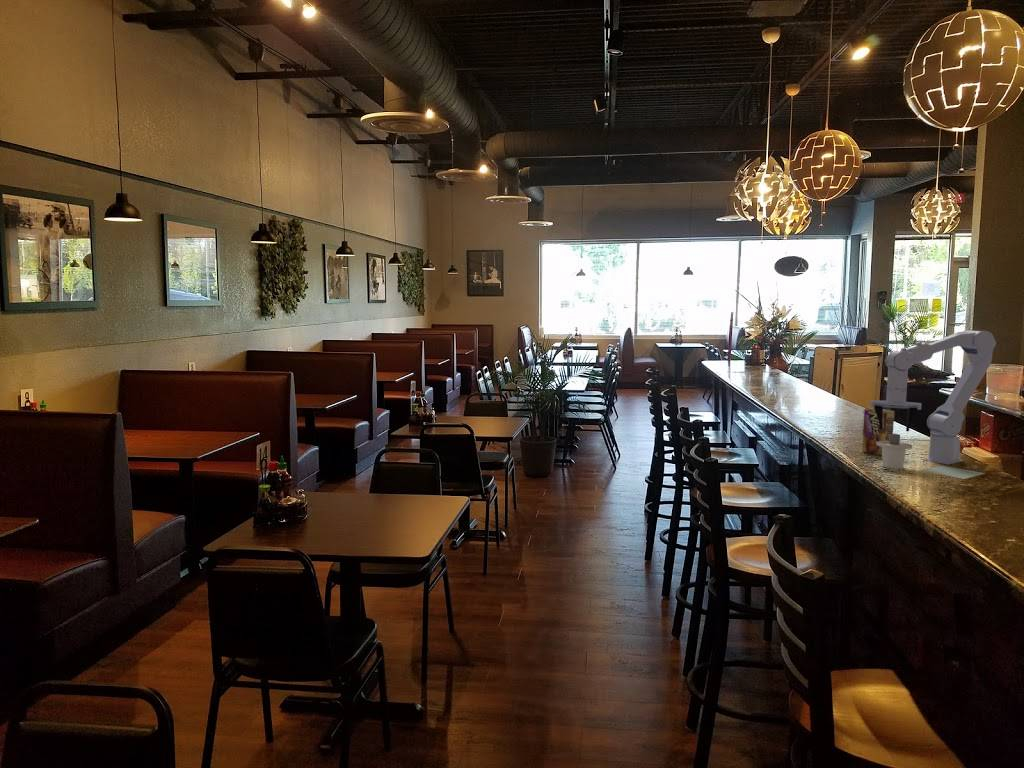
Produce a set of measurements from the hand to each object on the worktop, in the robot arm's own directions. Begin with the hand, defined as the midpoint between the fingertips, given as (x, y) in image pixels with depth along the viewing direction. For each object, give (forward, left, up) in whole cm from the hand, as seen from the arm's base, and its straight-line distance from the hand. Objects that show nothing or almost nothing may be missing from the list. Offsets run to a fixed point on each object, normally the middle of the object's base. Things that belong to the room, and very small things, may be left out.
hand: (894, 430), depth 240 cm
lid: (+9, +5, -3) cm, 11 cm away
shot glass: (+9, +5, -11) cm, 15 cm away
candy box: (-8, -10, -11) cm, 17 cm away
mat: (+1, +19, -10) cm, 22 cm away
